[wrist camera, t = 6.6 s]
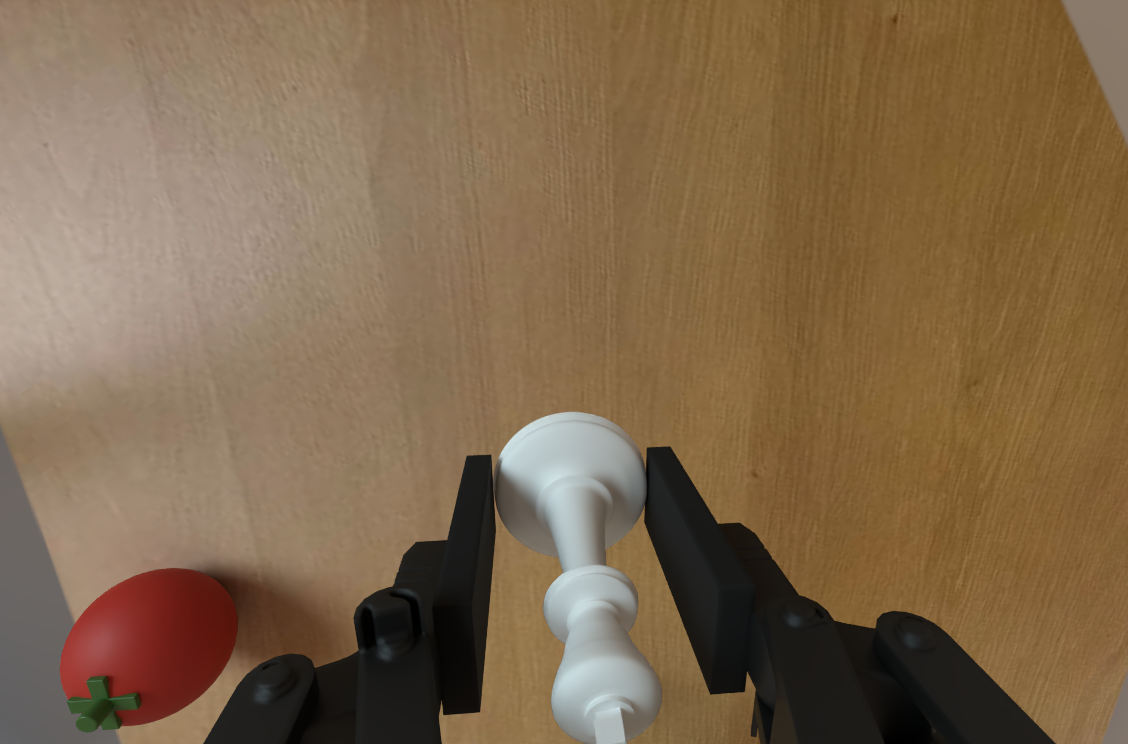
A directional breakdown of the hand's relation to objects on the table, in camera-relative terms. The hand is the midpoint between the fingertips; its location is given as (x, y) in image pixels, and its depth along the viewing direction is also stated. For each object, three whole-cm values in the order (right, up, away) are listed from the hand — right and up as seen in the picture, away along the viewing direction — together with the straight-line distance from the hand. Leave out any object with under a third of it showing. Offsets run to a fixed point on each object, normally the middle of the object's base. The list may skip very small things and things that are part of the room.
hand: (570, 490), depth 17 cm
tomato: (-24, -11, +17) cm, 31 cm away
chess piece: (0, 0, 0) cm, 0 cm away
